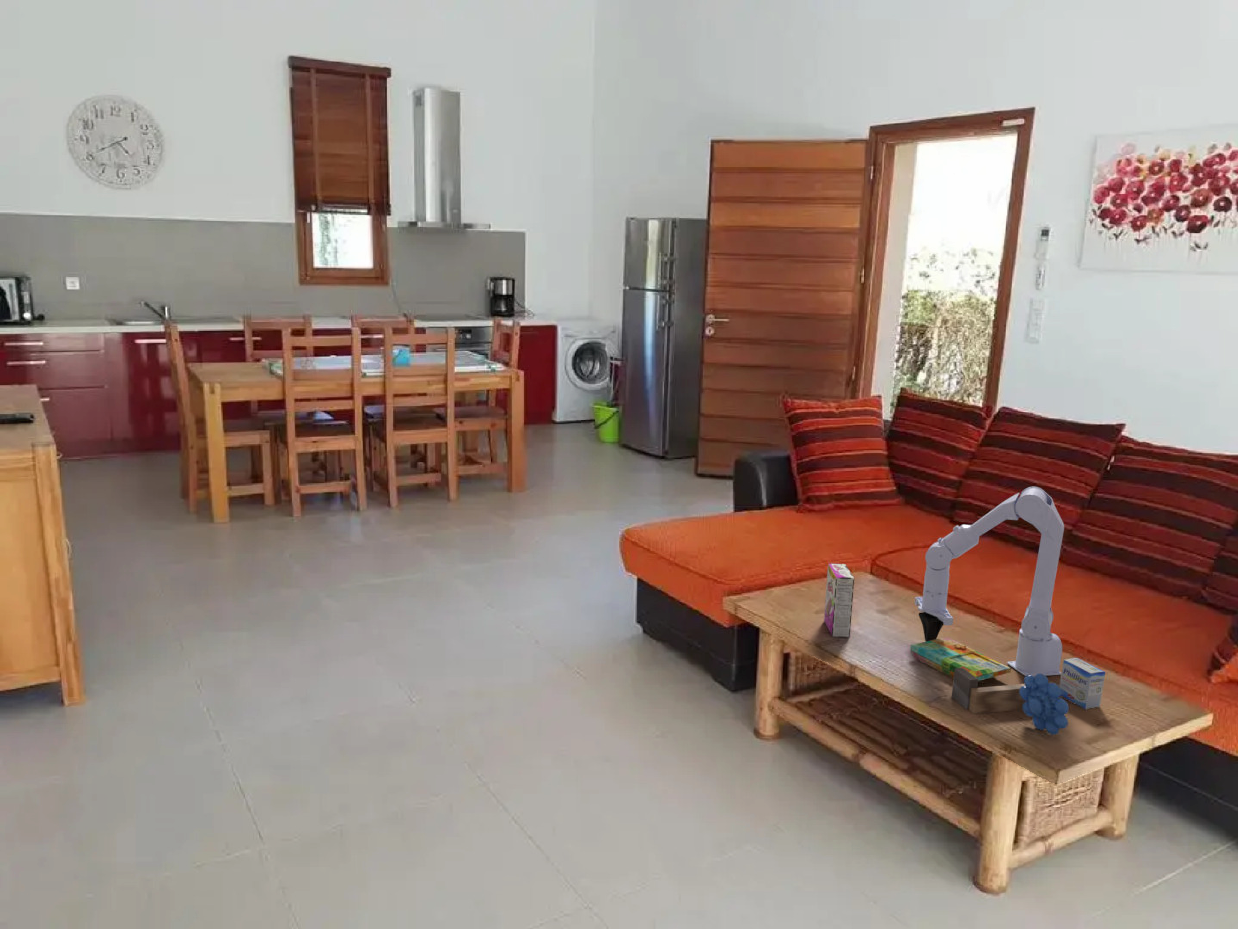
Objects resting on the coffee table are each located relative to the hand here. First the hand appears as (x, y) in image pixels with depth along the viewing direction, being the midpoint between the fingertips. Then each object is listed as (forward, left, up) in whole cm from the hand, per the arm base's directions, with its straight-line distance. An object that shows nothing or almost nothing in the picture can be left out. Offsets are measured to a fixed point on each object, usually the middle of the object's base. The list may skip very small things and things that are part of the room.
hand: (930, 641), depth 242 cm
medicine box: (-18, +32, -2) cm, 37 cm away
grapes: (0, +42, -2) cm, 43 cm away
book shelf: (0, +29, -2) cm, 30 cm away
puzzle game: (0, +12, -2) cm, 13 cm away
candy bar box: (+18, -16, -2) cm, 24 cm away
